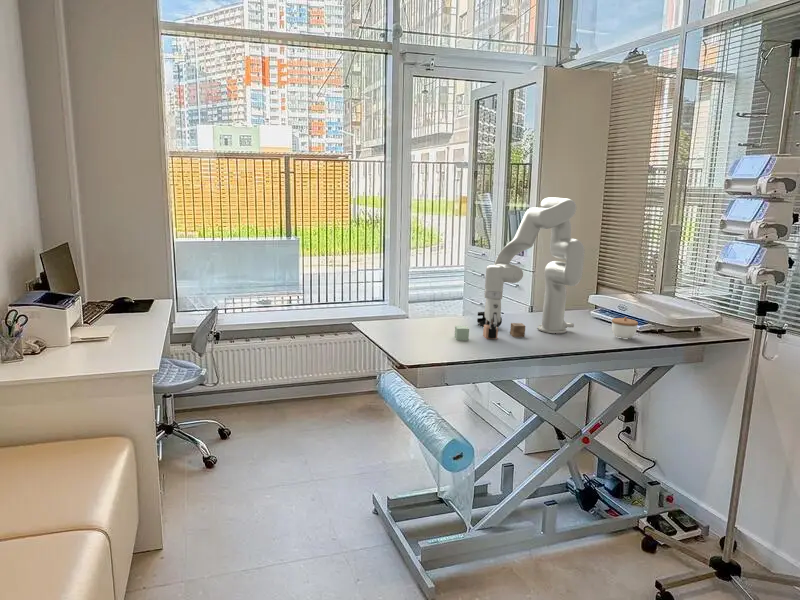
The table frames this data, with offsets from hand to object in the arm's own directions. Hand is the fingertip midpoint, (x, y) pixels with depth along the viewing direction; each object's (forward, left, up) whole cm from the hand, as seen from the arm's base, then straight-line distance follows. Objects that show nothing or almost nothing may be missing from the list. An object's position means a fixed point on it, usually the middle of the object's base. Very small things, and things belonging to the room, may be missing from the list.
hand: (490, 335), depth 253 cm
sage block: (+13, +3, -1) cm, 13 cm away
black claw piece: (-4, -19, -1) cm, 19 cm away
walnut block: (-13, -4, -1) cm, 14 cm away
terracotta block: (0, 0, -1) cm, 1 cm away
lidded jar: (-61, -4, -1) cm, 61 cm away
